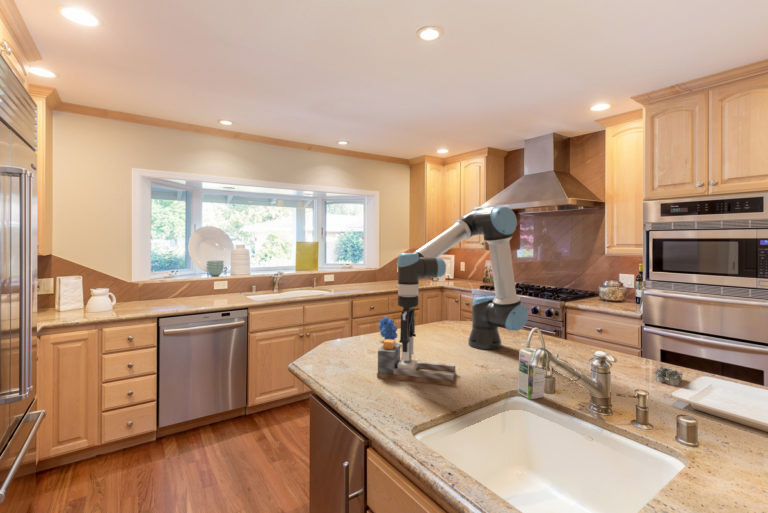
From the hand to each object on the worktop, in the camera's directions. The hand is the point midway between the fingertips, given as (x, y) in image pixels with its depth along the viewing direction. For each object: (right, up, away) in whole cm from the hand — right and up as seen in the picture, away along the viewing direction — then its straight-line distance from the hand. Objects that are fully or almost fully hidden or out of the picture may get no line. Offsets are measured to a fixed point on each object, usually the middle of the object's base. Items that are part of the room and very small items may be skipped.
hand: (407, 356), depth 139 cm
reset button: (-7, +3, +2) cm, 7 cm away
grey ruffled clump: (+93, -8, -4) cm, 93 cm away
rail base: (+3, -7, -1) cm, 7 cm away
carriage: (0, -5, 0) cm, 5 cm away
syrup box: (+39, -8, -18) cm, 43 cm away
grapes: (-7, -5, +44) cm, 45 cm away
